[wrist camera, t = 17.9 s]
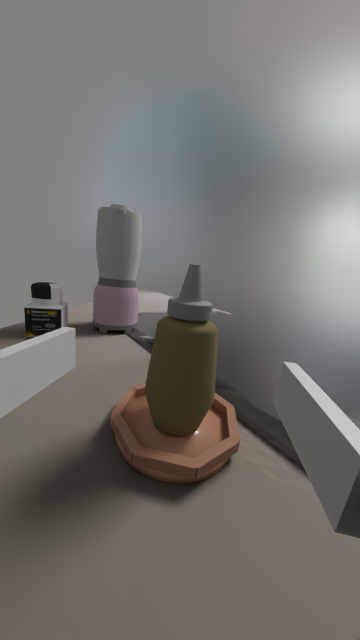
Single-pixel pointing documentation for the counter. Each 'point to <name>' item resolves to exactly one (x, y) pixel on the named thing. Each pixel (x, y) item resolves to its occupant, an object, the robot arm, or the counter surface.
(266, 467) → the counter surface
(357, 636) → the counter surface
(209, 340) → the squeeze bottle
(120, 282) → the blender
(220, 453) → the dish
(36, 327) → the medicine bottle
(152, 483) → the counter surface
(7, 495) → the counter surface
